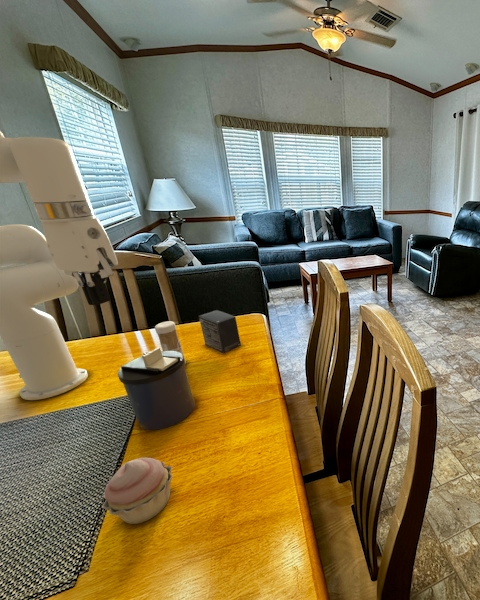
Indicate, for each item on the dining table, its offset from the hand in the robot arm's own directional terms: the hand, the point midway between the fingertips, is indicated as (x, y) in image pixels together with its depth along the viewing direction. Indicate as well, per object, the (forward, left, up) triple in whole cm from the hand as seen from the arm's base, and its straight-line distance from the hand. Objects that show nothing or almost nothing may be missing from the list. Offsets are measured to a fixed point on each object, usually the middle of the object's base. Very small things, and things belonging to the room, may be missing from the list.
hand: (100, 302), depth 67 cm
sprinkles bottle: (-6, +17, -27) cm, 33 cm away
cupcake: (+24, -20, -27) cm, 41 cm away
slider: (+11, 0, -14) cm, 17 cm away
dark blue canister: (+8, 0, -27) cm, 28 cm away
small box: (-1, +30, -27) cm, 41 cm away
